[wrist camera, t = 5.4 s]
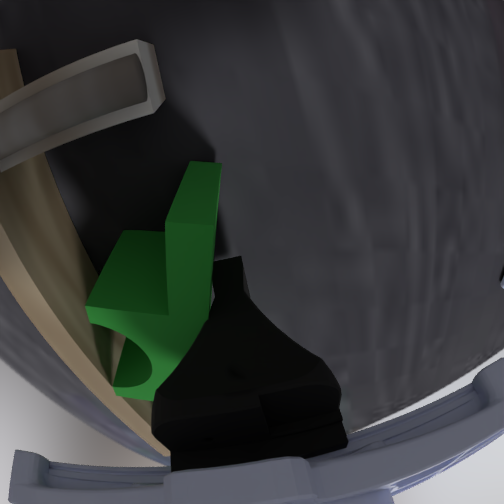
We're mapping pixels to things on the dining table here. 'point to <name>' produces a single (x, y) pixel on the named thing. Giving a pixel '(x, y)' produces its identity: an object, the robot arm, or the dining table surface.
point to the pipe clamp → (160, 285)
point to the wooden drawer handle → (53, 208)
